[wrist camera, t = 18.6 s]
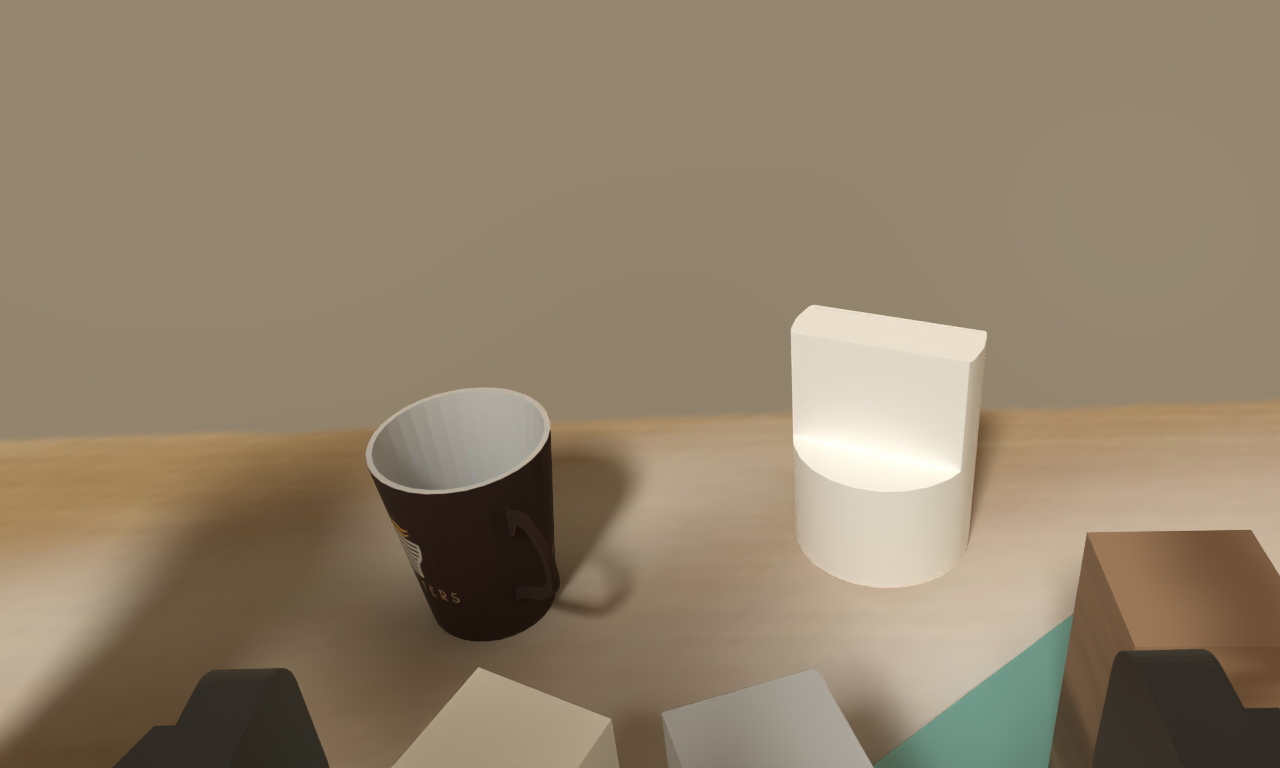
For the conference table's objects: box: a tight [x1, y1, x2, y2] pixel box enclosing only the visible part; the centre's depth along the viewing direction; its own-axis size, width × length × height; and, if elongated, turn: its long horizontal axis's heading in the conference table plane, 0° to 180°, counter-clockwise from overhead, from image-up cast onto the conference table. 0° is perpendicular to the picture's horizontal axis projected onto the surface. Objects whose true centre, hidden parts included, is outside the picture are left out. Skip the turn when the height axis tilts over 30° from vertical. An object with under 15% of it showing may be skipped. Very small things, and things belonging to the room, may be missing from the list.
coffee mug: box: [365, 387, 560, 641], centre depth 50 cm, size 12×9×10 cm
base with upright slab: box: [791, 305, 987, 588], centre depth 52 cm, size 9×9×12 cm
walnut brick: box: [1048, 530, 1280, 768], centre depth 35 cm, size 5×5×12 cm
